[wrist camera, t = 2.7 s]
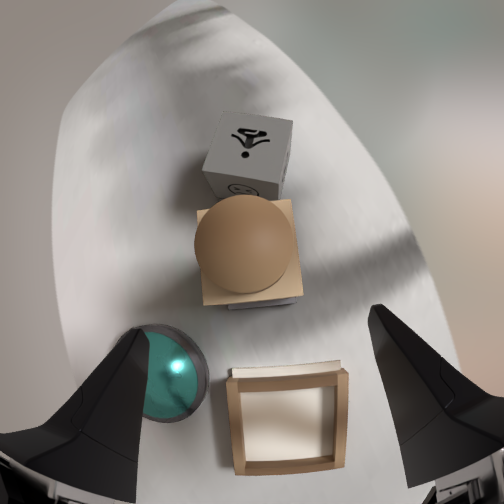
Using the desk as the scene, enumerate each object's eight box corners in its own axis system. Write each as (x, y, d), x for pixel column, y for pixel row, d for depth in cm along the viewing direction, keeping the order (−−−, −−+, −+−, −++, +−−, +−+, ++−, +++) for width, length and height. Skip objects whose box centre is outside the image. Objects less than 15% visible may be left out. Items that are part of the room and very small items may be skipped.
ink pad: (229, 389, 19) (226, 396, 17) (155, 429, 19) (148, 436, 17) (170, 304, 21) (162, 304, 19) (104, 352, 20) (94, 355, 19)
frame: (339, 463, 17) (343, 473, 15) (238, 471, 18) (235, 481, 16) (342, 359, 19) (348, 363, 17) (228, 367, 19) (225, 373, 18)
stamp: (295, 302, 20) (322, 304, 9) (230, 309, 20) (180, 318, 9) (287, 238, 21) (302, 170, 10) (224, 246, 21) (174, 187, 10)
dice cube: (289, 155, 22) (292, 120, 17) (277, 209, 21) (278, 183, 16) (232, 145, 23) (223, 111, 18) (216, 197, 22) (201, 170, 17)
